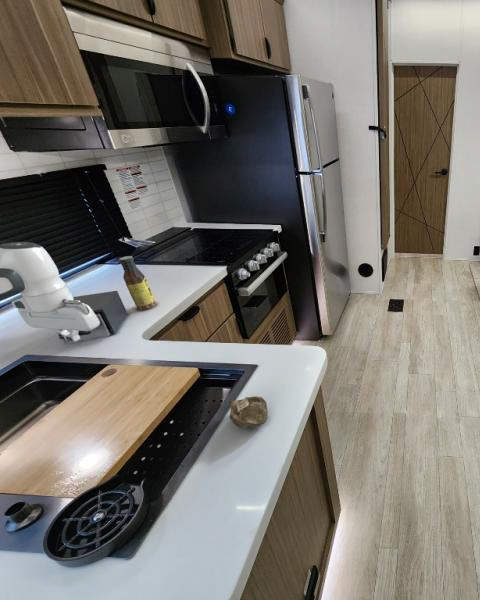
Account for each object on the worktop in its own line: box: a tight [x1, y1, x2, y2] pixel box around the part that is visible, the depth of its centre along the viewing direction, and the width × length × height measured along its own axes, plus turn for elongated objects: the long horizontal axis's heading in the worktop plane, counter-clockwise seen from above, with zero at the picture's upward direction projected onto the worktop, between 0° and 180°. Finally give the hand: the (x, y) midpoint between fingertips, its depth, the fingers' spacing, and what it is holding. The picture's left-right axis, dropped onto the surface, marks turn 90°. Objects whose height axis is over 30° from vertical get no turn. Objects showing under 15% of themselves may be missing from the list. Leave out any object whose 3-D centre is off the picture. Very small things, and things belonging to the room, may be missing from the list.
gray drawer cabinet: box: [73, 290, 128, 336], centre depth 111 cm, size 15×13×10 cm
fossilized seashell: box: [229, 395, 269, 429], centre depth 76 cm, size 8×7×10 cm
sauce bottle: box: [118, 255, 156, 311], centre depth 122 cm, size 7×6×20 cm
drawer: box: [57, 312, 111, 345], centre depth 107 cm, size 18×11×8 cm, turn 23°
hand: (73, 339), depth 98 cm, fingers closed
